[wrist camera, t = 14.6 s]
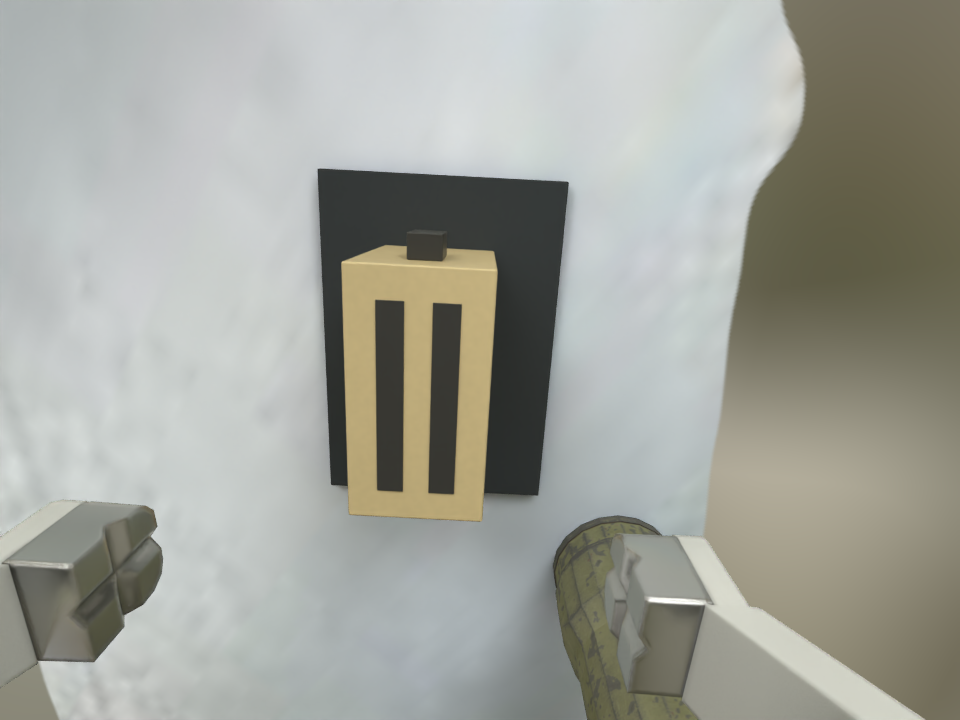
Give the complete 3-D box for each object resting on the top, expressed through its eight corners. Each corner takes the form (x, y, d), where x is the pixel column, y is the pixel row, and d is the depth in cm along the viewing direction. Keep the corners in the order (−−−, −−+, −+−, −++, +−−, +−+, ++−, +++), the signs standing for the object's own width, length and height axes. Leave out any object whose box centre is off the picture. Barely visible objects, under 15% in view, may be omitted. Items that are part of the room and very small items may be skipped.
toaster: (483, 438, 32) (482, 523, 24) (384, 433, 32) (347, 516, 24) (495, 229, 28) (499, 239, 20) (383, 223, 28) (339, 230, 20)
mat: (321, 169, 28) (317, 168, 28) (566, 182, 28) (568, 181, 28) (334, 479, 34) (330, 485, 33) (536, 489, 34) (538, 495, 34)
